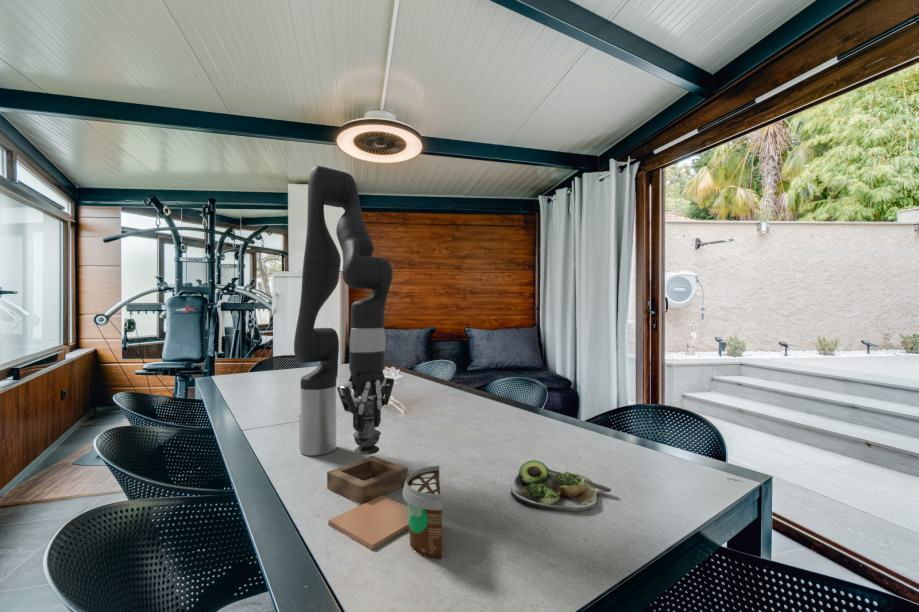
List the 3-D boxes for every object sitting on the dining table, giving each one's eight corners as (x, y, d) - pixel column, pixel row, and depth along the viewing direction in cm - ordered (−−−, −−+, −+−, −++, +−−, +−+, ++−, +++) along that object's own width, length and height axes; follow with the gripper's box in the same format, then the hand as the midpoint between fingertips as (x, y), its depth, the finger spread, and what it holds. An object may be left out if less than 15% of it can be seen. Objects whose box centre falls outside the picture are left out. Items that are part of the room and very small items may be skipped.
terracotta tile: (328, 524, 69) (328, 520, 69) (381, 499, 78) (381, 495, 78) (372, 550, 61) (372, 545, 61) (425, 518, 71) (425, 514, 71)
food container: (404, 522, 70) (404, 465, 70) (439, 520, 70) (439, 464, 70) (400, 567, 57) (399, 498, 57) (442, 564, 58) (442, 496, 58)
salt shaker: (374, 456, 81) (374, 398, 81) (347, 454, 82) (348, 396, 82) (385, 446, 87) (385, 392, 87) (360, 444, 88) (360, 391, 88)
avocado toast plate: (609, 481, 86) (608, 460, 86) (614, 523, 69) (613, 497, 69) (521, 471, 92) (520, 452, 92) (506, 507, 75) (505, 483, 75)
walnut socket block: (327, 488, 83) (327, 471, 83) (372, 470, 93) (372, 455, 93) (362, 505, 76) (362, 487, 76) (407, 484, 85) (407, 468, 85)
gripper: (381, 345, 93) (381, 418, 93) (328, 350, 82) (327, 433, 82) (403, 347, 88) (403, 424, 88) (350, 352, 77) (349, 441, 77)
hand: (366, 428), depth 85 cm, fingers closed on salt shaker, 3 cm apart
